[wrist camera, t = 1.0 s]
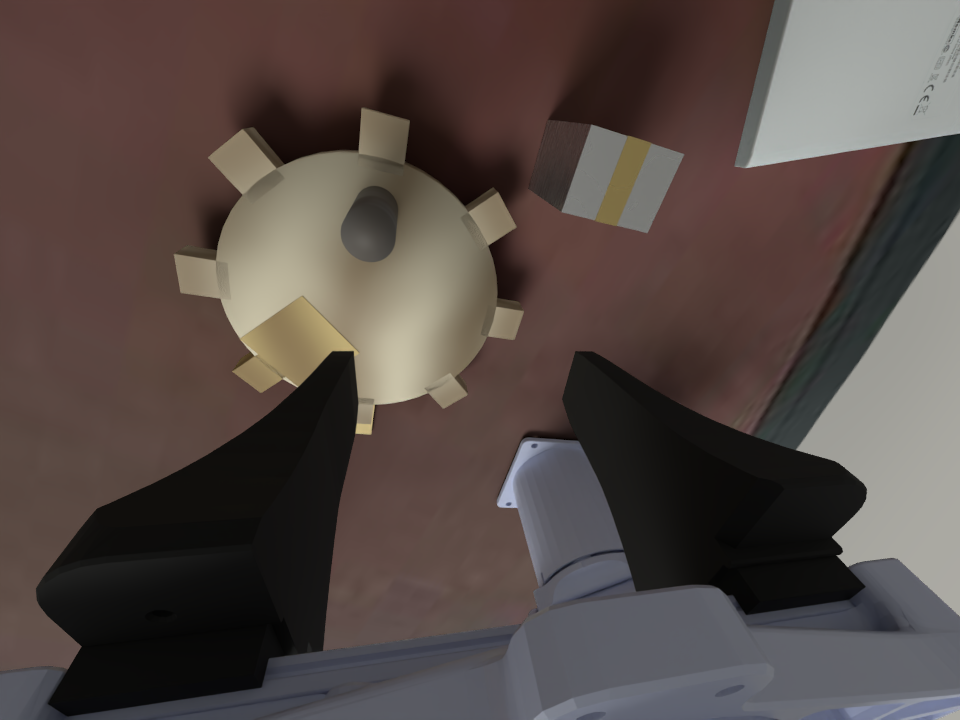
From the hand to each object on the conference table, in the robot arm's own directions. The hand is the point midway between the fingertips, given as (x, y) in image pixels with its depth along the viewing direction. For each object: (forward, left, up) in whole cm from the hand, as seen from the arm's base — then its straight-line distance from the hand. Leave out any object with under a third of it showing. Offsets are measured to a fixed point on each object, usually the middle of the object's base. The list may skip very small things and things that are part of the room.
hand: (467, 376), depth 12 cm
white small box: (-5, -6, -10) cm, 13 cm away
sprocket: (+4, +2, -10) cm, 11 cm away
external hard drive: (-18, -14, -11) cm, 26 cm away
